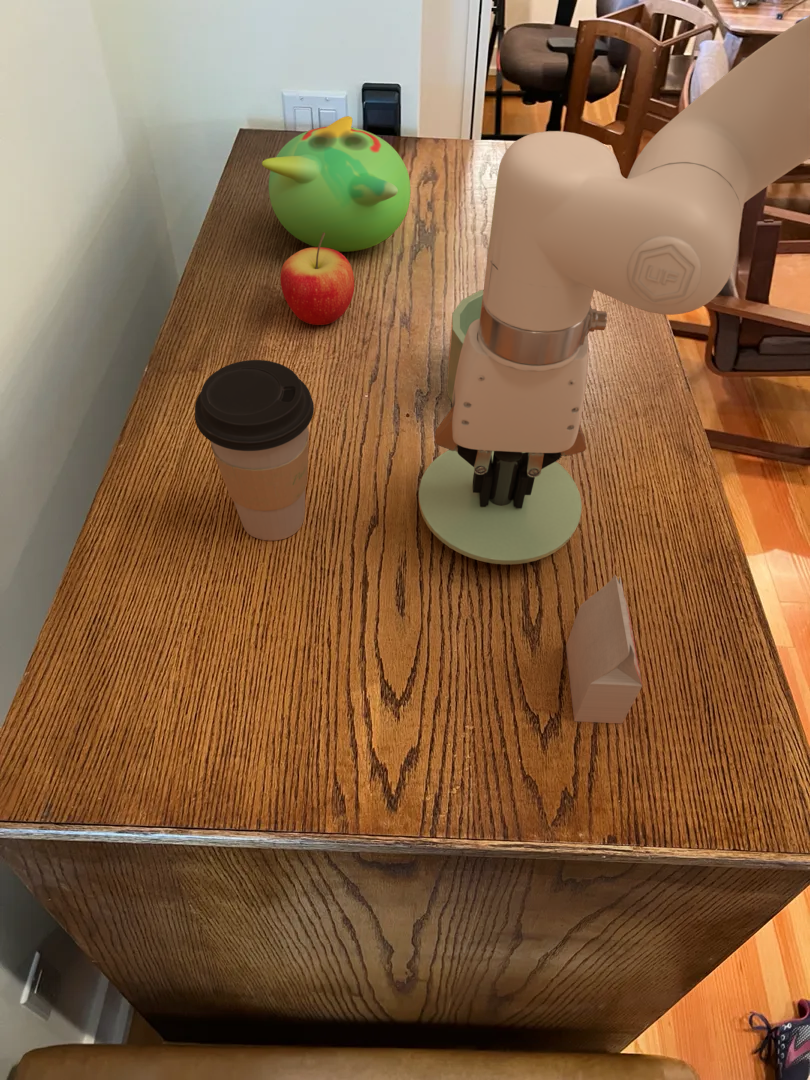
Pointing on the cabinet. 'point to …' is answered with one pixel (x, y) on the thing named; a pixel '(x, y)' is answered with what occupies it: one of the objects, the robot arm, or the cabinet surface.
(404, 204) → the toy bird
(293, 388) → the coffee cup
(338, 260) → the apple
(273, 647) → the cabinet surface
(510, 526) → the lid
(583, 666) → the tea bag
